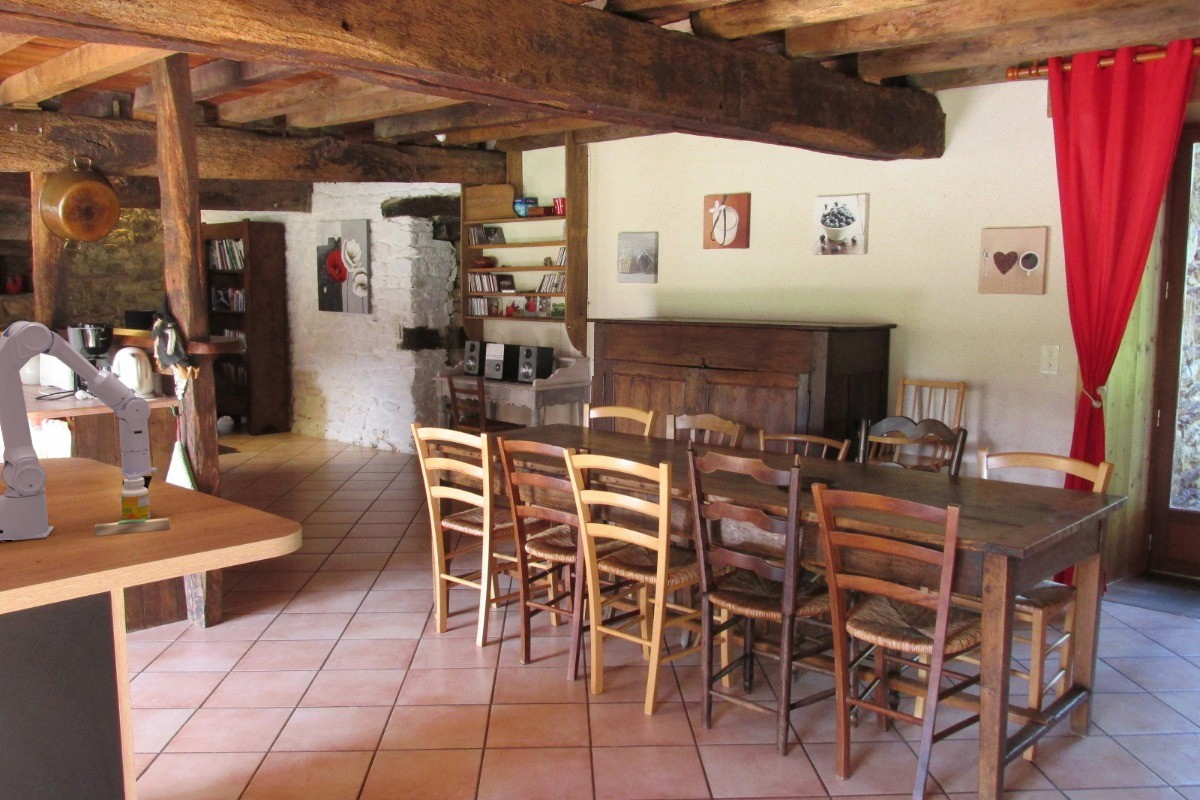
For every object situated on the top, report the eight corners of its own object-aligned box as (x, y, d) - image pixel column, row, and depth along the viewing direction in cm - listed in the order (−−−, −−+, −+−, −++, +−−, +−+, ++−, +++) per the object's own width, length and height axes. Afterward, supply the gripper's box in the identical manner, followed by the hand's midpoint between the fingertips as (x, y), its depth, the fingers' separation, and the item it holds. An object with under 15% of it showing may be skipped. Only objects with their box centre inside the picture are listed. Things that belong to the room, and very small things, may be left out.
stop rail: (94, 536, 200) (94, 525, 200) (96, 533, 202) (95, 522, 202) (168, 529, 205) (168, 518, 205) (169, 527, 207) (169, 516, 207)
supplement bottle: (117, 524, 210) (114, 480, 208) (139, 518, 214) (136, 475, 213) (134, 527, 207) (131, 482, 206) (156, 521, 212) (153, 477, 211)
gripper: (151, 454, 209) (156, 516, 211) (158, 443, 222) (162, 501, 224) (115, 456, 206) (120, 519, 208) (124, 445, 220) (128, 504, 222)
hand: (139, 510), depth 216 cm, fingers closed
